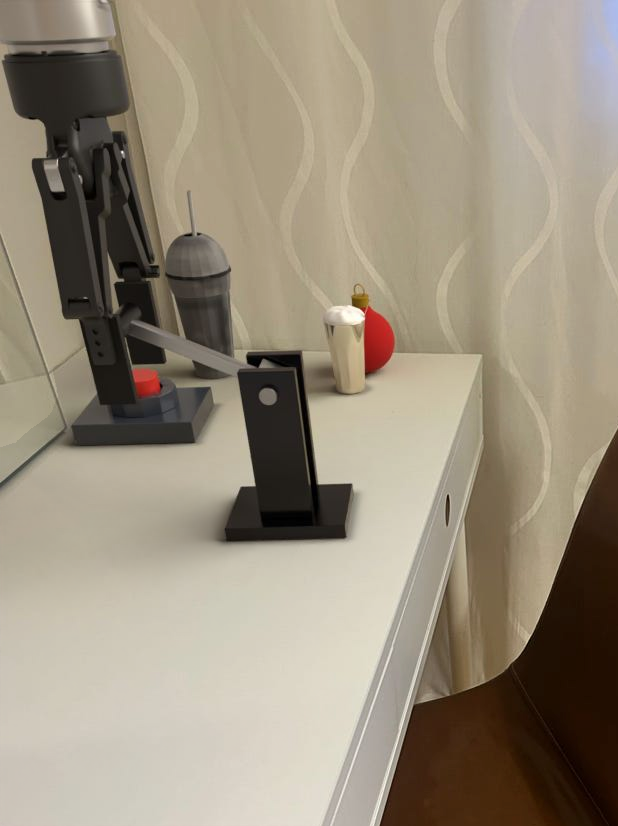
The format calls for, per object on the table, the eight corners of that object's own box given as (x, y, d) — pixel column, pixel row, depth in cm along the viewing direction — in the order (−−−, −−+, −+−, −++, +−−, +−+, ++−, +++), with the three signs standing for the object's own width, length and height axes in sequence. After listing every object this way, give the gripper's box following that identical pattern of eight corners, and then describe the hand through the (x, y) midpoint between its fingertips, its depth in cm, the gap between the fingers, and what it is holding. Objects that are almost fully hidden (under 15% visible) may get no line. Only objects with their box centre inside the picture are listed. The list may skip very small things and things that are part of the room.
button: (115, 399, 98) (111, 382, 97) (126, 385, 102) (122, 369, 101) (155, 398, 98) (151, 381, 97) (164, 384, 102) (161, 368, 101)
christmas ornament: (324, 374, 114) (314, 286, 108) (363, 357, 119) (356, 272, 113) (369, 385, 111) (362, 295, 105) (408, 367, 115) (403, 281, 110)
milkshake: (372, 397, 107) (364, 305, 102) (325, 395, 108) (315, 304, 103) (382, 383, 111) (375, 293, 105) (337, 381, 112) (327, 292, 106)
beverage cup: (229, 357, 119) (199, 180, 108) (258, 372, 115) (230, 189, 103) (173, 371, 116) (137, 189, 104) (201, 387, 111) (166, 198, 100)
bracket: (226, 541, 81) (195, 380, 73) (242, 498, 87) (216, 346, 80) (346, 537, 81) (328, 376, 73) (353, 495, 88) (338, 343, 80)
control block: (76, 445, 98) (65, 408, 96) (104, 408, 106) (95, 373, 104) (195, 442, 98) (187, 404, 96) (214, 405, 106) (208, 370, 104)
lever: (98, 342, 73) (105, 313, 71) (116, 322, 77) (123, 294, 76) (281, 414, 76) (290, 387, 75) (289, 392, 80) (298, 365, 79)
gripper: (65, 58, 55) (149, 432, 68) (156, 37, 73) (209, 339, 86) (-67, 61, 55) (42, 435, 68) (55, 39, 73) (123, 341, 86)
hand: (135, 381), depth 77 cm, fingers open, 8 cm apart
